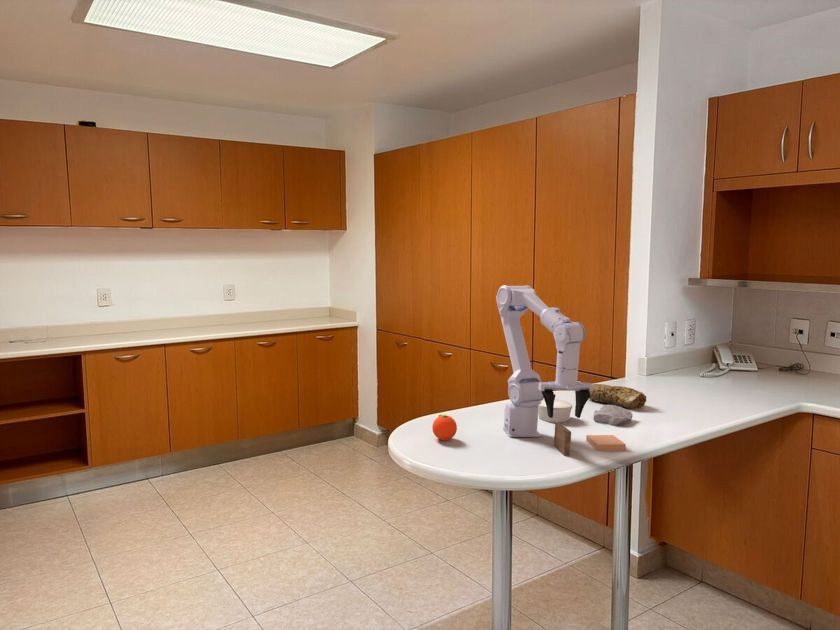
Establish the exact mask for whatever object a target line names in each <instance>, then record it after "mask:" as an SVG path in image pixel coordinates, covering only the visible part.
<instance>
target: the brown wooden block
mask: <svg viewBox="0 0 840 630" xmlns="http://www.w3.org/2000/svg"><path fill="white" fill-rule="evenodd" d="M554 424H555V425H554V436H553V437H554V439H553V447H554V448H555V449H556V450H558V451H559V452H560V453H561V455H563V456H564V457H565V456H566V457H567V456H568V457H569V456H571V442H572V431H570V429H569V428H567V427H566V426H565V425H564V424H563V423H554Z"/></svg>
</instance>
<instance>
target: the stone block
mask: <svg viewBox="0 0 840 630" xmlns="http://www.w3.org/2000/svg"><path fill="white" fill-rule="evenodd" d="M632 419H633V412H631V411H630V409H626V408H623V406H620V405H617V404H605V405H603V406H602V407H601V408H600V409H599V410H595V411H594V413H593V421H594V422H595V423H599V424H604V425H609V426H613V427H616V426H621V425H625V424H629V423H631V422H632Z"/></svg>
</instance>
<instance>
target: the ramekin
mask: <svg viewBox="0 0 840 630" xmlns="http://www.w3.org/2000/svg"><path fill="white" fill-rule="evenodd" d="M572 409H573V404H572V403H571V402H570V401H566V400H563V399H556V398H555V400H554V406H553V418H550V417H549V416H548V412H547V406H546V403H545V400H544V399H543V400H542V401H541V404H539V407H538V419H540V420H542V421H544V422H548V423H553V424H555V423H561V424H563V423H566V422H568V421H569V419H570V416H571V412H572Z"/></svg>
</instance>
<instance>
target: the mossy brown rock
mask: <svg viewBox="0 0 840 630" xmlns="http://www.w3.org/2000/svg"><path fill="white" fill-rule="evenodd" d="M592 384H593V392H592V391H589V393H590V398H589V399H590V400H593V401H596V402H599V403H603V404H608V405H617V406H621V407H625V408H628V409H643V408H644V406H645V404H646V403H647V395H645V394H644V393H643V392H642V391H640V390H637V389H635V388H632V387H627V386H617V385H609V384H602V383H592Z"/></svg>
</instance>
